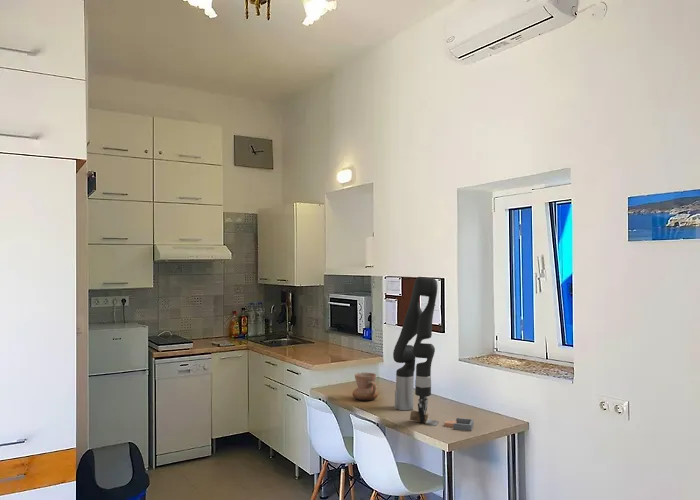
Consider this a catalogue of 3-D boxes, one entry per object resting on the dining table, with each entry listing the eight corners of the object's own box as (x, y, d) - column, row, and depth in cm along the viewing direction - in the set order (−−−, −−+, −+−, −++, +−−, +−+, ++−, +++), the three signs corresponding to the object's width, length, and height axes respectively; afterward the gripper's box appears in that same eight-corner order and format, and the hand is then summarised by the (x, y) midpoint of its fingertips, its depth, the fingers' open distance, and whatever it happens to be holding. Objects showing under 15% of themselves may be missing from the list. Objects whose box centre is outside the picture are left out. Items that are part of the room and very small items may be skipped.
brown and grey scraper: (408, 420, 261) (409, 412, 261) (411, 417, 268) (412, 409, 268) (435, 427, 257) (437, 418, 257) (438, 423, 263) (439, 414, 263)
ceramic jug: (346, 397, 312) (346, 372, 313) (367, 395, 320) (367, 370, 321) (363, 404, 297) (363, 378, 298) (385, 401, 305) (385, 375, 305)
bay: (453, 429, 252) (453, 423, 252) (456, 422, 263) (456, 417, 263) (471, 430, 250) (471, 425, 250) (473, 424, 260) (473, 419, 260)
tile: (444, 427, 257) (444, 422, 257) (446, 424, 261) (446, 420, 261) (455, 428, 255) (455, 424, 255) (456, 425, 260) (456, 421, 260)
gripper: (418, 381, 271) (417, 417, 270) (412, 387, 258) (412, 424, 257) (433, 383, 268) (432, 418, 268) (428, 388, 255) (427, 426, 254)
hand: (422, 421), depth 262 cm, fingers closed on brown and grey scraper, 2 cm apart
